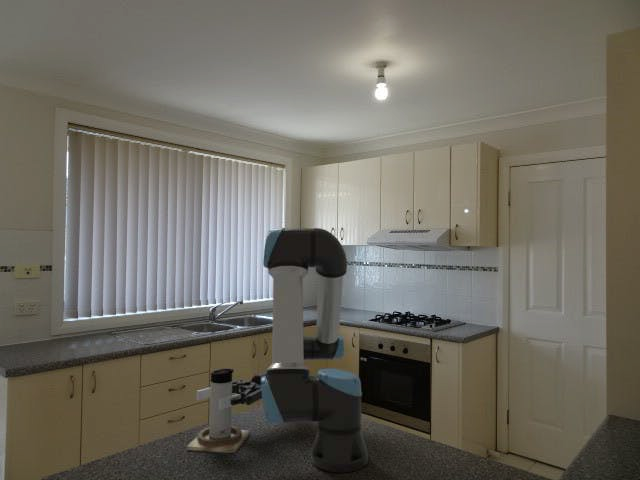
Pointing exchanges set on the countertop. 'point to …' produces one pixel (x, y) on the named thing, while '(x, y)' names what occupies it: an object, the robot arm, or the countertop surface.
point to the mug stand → (219, 441)
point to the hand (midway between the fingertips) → (208, 399)
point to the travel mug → (218, 417)
